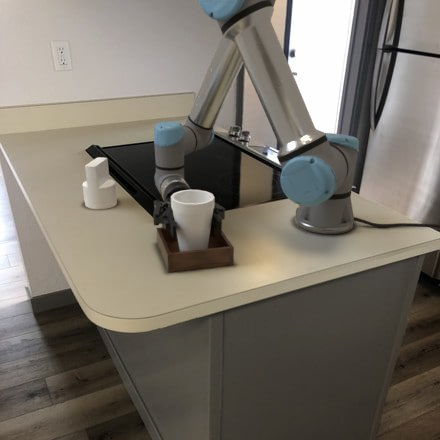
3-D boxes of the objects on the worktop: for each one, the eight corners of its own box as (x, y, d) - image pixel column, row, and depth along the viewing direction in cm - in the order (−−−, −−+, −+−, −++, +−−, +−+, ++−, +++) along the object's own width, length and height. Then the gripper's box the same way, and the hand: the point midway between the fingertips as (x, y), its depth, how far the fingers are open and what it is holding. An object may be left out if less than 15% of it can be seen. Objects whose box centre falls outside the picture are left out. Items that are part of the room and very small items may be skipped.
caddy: (216, 238, 120) (216, 222, 118) (233, 264, 108) (233, 247, 106) (157, 244, 117) (156, 227, 114) (168, 272, 105) (167, 254, 102)
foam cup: (192, 239, 118) (191, 186, 111) (222, 250, 113) (223, 196, 106) (164, 252, 111) (161, 197, 105) (194, 264, 106) (193, 207, 100)
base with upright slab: (110, 210, 135) (105, 167, 129) (79, 207, 136) (73, 165, 130) (121, 199, 143) (117, 158, 137) (92, 197, 144) (87, 156, 138)
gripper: (219, 206, 128) (245, 240, 109) (135, 213, 122) (147, 250, 104) (219, 178, 124) (246, 209, 105) (132, 184, 119) (145, 217, 100)
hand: (197, 229), depth 105 cm, fingers closed on foam cup, 9 cm apart
